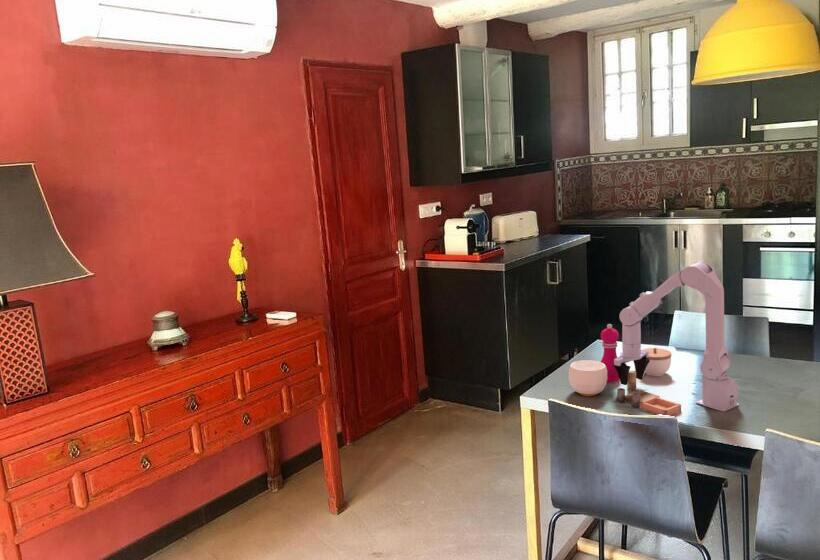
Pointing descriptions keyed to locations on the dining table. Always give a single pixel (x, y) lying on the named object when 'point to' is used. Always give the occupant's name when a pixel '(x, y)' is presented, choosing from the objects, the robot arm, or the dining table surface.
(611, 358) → the pepper mill
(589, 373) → the cup
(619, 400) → the bench dogs
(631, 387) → the dowel
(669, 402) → the dish
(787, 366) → the dining table surface
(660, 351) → the lidded jar
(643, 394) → the tan flat wooden block
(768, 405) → the dining table surface
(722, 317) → the robot arm
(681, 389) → the dining table surface
